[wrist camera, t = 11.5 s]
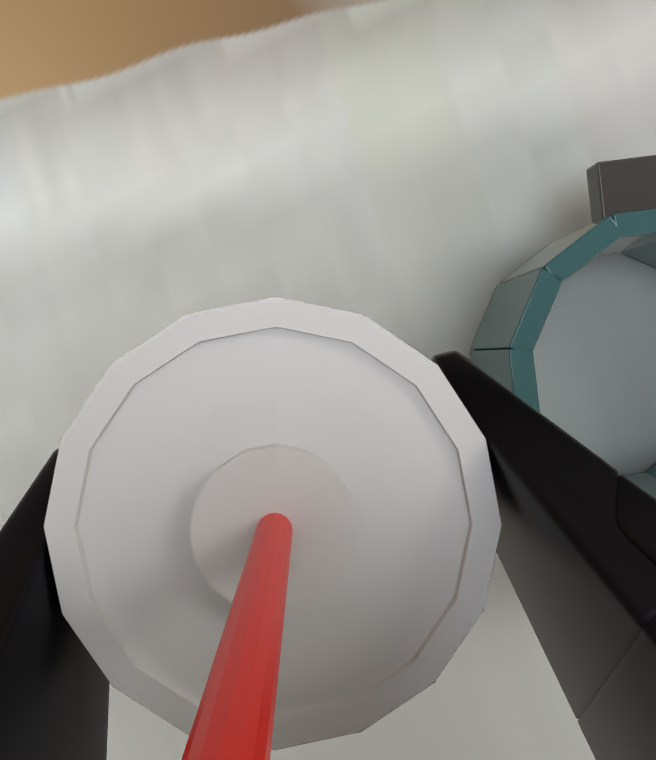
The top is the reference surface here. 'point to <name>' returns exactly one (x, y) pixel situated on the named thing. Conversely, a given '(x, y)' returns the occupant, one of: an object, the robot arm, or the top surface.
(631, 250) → the pot
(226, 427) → the beverage cup
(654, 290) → the top surface
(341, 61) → the top surface
